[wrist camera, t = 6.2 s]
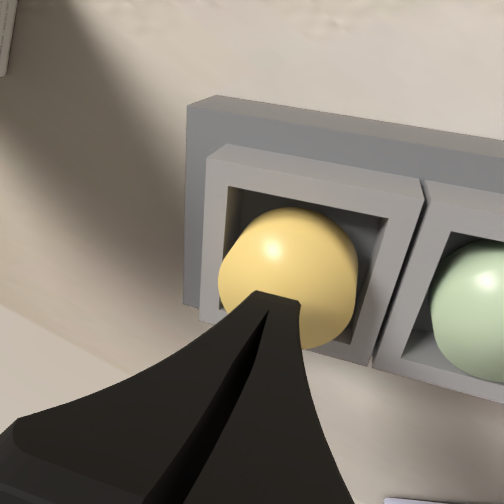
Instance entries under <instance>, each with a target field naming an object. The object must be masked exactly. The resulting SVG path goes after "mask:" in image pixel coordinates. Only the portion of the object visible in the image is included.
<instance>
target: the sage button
mask: <svg viewBox="0 0 504 504" xmlns="http://www.w3.org/2000/svg"><path fill="white" fill-rule="evenodd" d="M428 302H429V308H430V313H431V319H432V324H433V330H434V335H435V340H436V342H437V345H438V347H439V349H440V350H441V352H442V354H443V355H444V356H445V357H446V358H447V359H448V360H449V361H450V362H451V363H452V364H453V365H455V366H456V367H457V368H459V369H461V370H462V371H464V372H466V373H468V374H470V375H473V376H475V377H478V378H481V379H485V380H490V381H495V382H503V383H504V242H502V241H497V240H492V239H484V240H480V241H476V242H473V243H471V244H468V245H466V246H464V247H462V248H460V249H458V250H456V251H455V252H453V253H452V254H450V255H449V256H448V257H447V258H446V259H444V260H443V261H442V262H441V264H440V265H439V266H438V267H437V269H436V270H435V272H434V275H433V277H432V280H431V282H430V285H429V287H428Z"/></svg>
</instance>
